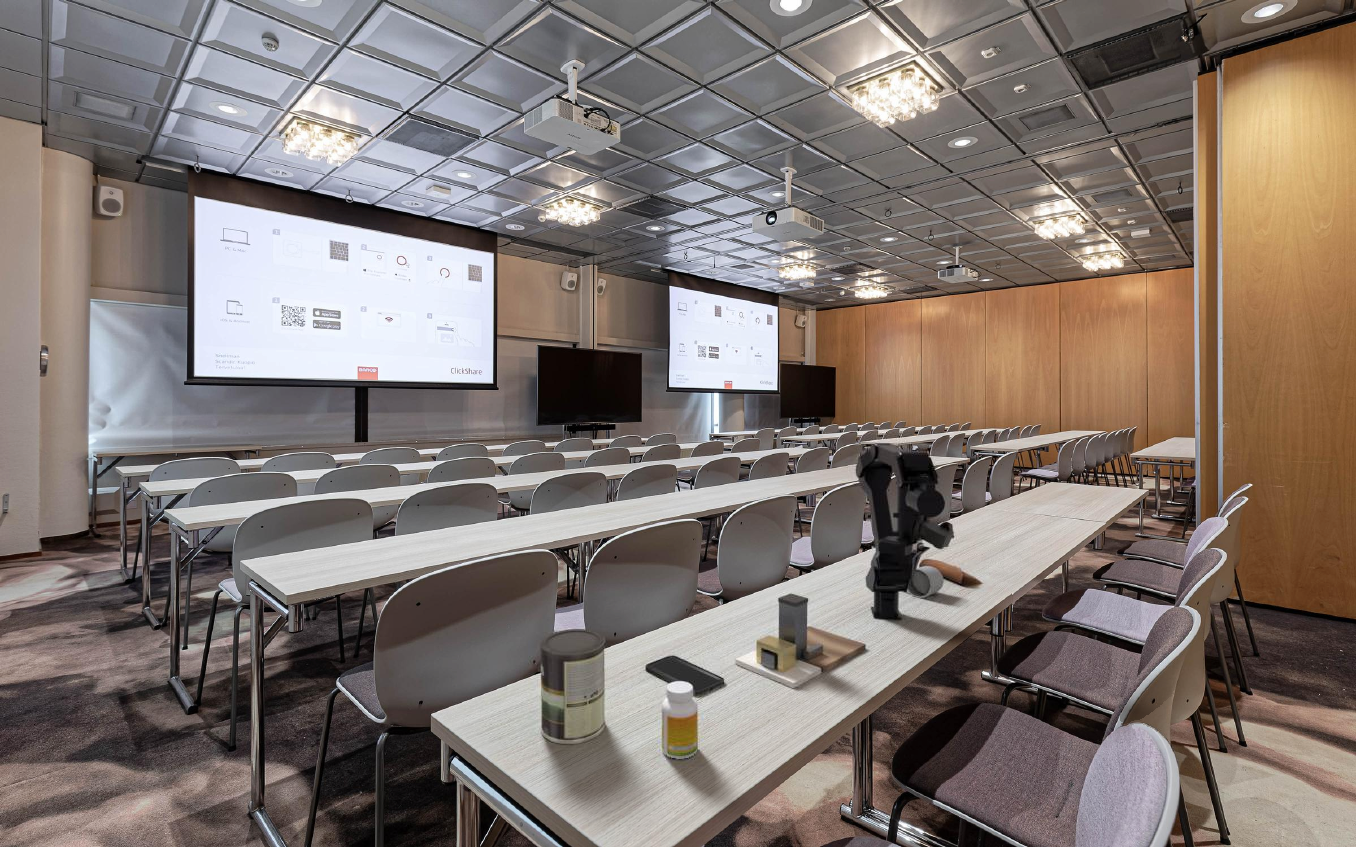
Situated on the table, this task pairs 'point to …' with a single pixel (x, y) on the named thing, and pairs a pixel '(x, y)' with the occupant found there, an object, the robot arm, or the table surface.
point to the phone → (685, 674)
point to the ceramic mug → (925, 582)
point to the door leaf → (831, 648)
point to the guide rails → (813, 652)
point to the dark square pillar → (790, 627)
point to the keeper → (780, 647)
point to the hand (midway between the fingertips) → (909, 579)
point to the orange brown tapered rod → (951, 572)
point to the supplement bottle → (679, 721)
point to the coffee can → (572, 686)
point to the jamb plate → (789, 678)
